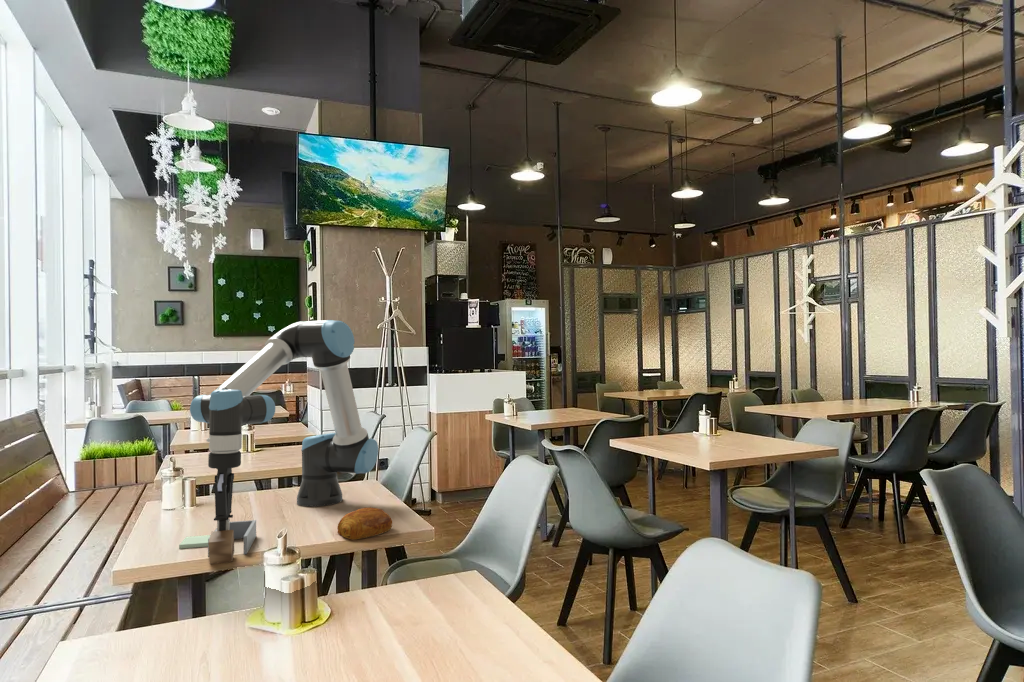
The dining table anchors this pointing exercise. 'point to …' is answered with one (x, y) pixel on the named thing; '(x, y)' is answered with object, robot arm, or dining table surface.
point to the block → (221, 546)
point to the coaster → (194, 542)
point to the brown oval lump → (364, 523)
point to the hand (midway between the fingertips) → (222, 545)
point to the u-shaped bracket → (243, 532)
